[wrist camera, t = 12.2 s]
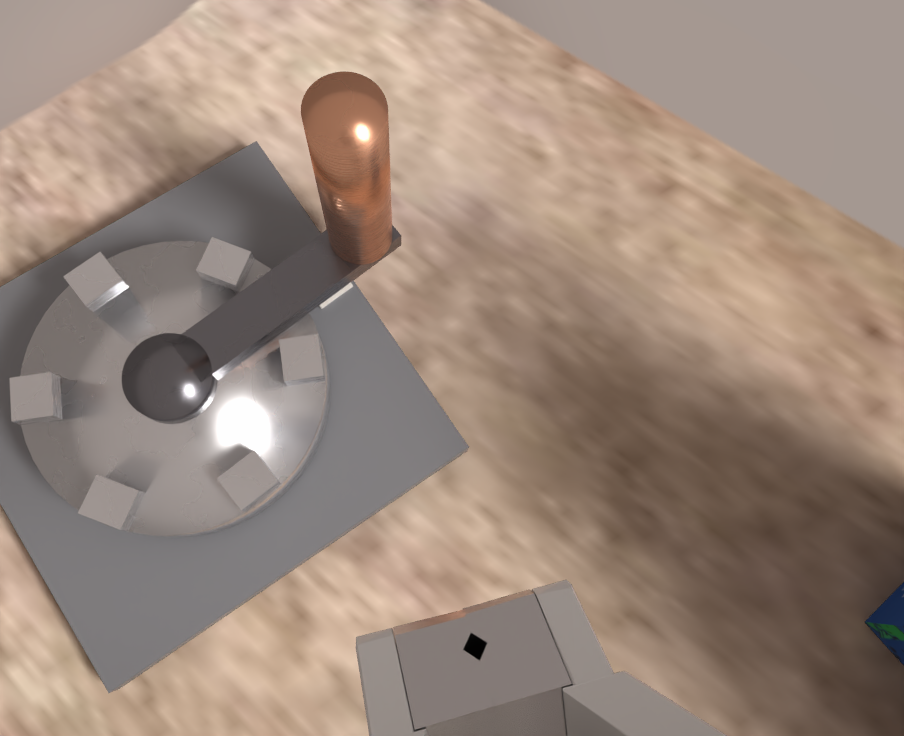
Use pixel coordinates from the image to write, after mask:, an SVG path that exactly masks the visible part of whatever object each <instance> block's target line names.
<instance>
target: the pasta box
mask: <svg viewBox="0 0 904 736" xmlns="http://www.w3.org/2000/svg"><path fill="white" fill-rule="evenodd" d="M865 623H866V624H867V625H868V626H869V628H870V629H871V630H872V631H873V632H874V633H875V634H876V635H877V636H878V638H879V639H880V640H881V641H882V642H883V643H884V644H885V645H886V646H887V648H888V649H889V650H890V651H891V652H892V653H893V654H894V655H895V656H896V658H897V659H898V660H899V661H900V662H901V663H902V664H903V665H904V582H903V583H902V584H901V585H900V586H899V587H898V588H897V589H896V591H895V592H894V593H893V594H892V595H891V596H890V597H889V598H888V599H887V600H886V601H885V602H884V603H883V604H882V605H881V606H880V607H879V608H878V609H877V610H876V611H875V612H874V613H873V614H872V615H871V616H870V617H869V618H868V619H867V620H866V621H865Z"/></svg>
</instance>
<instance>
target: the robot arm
mask: <svg viewBox="0 0 904 736" xmlns="http://www.w3.org/2000/svg"><path fill="white" fill-rule="evenodd" d="M393 629H394V631H393ZM356 652H357V659H358V665H359V671H360V678H361V684H362V691H363V697H364V704H365V710H366V717H367V723H368V729H369V736H727V735H725V734H724V733H722V732H720V731H719V730H717V729H716V728H714V727H712V726H711V725H709V724H708V723H706V722H705V721H703V720H701V719H700V718H698V717H697V716H695V715H694V714H692V713H690V712H689V711H687V710H686V709H684V708H683V707H681V706H679V705H678V704H676V703H675V702H673V701H672V700H670V699H668V698H667V697H665V696H664V695H662V694H661V693H659V692H657V691H656V690H654V689H653V688H651V687H649V686H648V685H646V684H645V683H643V682H642V681H640V680H638V679H637V678H635V677H634V676H632V675H631V674H629V673H627V672H626V671H621V672H617V673H614V672H613V670H612V668H611V666H610V664H609V662H608V660H607V658H606V655H605V653H604V651H603V649H602V647H601V645H600V643H599V641H598V639H597V637H596V635H595V633H594V630H593V628H592V626H591V624H590V622H589V620H588V618H587V616H586V614H585V612H584V610H583V608H582V605H581V603H580V601H579V599H578V597H577V595H576V593H575V591H574V589H573V587H572V585H571V584H570V583H569V582H568V581H567V580H563V581H560V582H556V583H552V584H549V585H545V586H542V587H538V588H534V589H532V591H531V590H530V589H529V590H526V591H522V592H519V593H515V594H512V595H508V596H505V597H501V598H498V599H495V600H491V601H488V602H484V603H481V604H477V605H474V606H470V607H467V608H463V610H460V611H456V612H452V613H448V614H444V615H440V616H436V617H432V618H428V619H424V620H420V621H416V622H412V623H408V624H404V625H400V626H396V627H393V628H390V629H386V630H382V631H378V632H374V633H370V634H366V635H362V636H358V637H356Z"/></svg>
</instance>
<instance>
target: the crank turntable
mask: <svg viewBox="0 0 904 736" xmlns="http://www.w3.org/2000/svg"><path fill="white" fill-rule="evenodd" d="M301 116H302V121H303V125H304V130H305V134H306V139H307V143H308V147H309V152H310V156H311V161H312V165H313V170H314V174H315V179H316V183H317V187H318V192H319V196H320V201H321V205H322V210H323V214H324V219H325V223H326V227H327V230H326V231H324V232H323V233H322V234H320V235H319V236H317V237H316V238H315V239H313V240H312V241H311V242H309V243H308V244H306V245H305V246H304V247H302V248H301V249H299V250H298V251H297V252H295V253H294V254H292V255H291V256H290V257H288V258H287V259H285V260H284V261H283V262H281V263H280V264H278V265H277V266H276V267H274V268H273V269H270V268H269V267H267V266H266V265H264V264H262V263H261V262H259V261H257V260H256V259H254V257H253V254H252V252H251V251H248V250H245V249H243V248H240V247H237V246H235V245H232V244H229V243H227V242H224V241H221V240H219V239H216V238H213V237H212V238H211V240H210V242H209V243H205V242H197V241H169V242H159V243H154V244H149V245H143V246H140V247H137V248H133V249H130V250H127V251H124V252H122V253H119V254H117V255H115V256H113V257H110V258H108V259H107V258H106V257H105V256H104V255H103V254H102V253H101V252H99V253H97V254H96V255H94V256H93V257H91V258H90V259H88V260H87V261H85V262H84V263H82V264H81V265H79V266H78V267H76V268H75V269H73V270H72V271H71V272H69V273H68V274H66V275H65V276H63V277H64V278H65V280H66V281H67V282H68V284H69V286H68V287H67V288H66V289H65V290H64V291H63V292H62V293H61V294H60V295H59V296H58V297H57V299H56V300H55V301H54V302H53V304H52V305H51V306H50V307H49V309H48V310H47V311H46V313H45V314H44V316H43V317H42V319H41V321H40V322H39V324H38V326H37V327H36V329H35V331H34V333H33V336H32V338H31V340H30V342H29V344H28V347H27V350H26V353H25V357H24V360H23V363H22V368H21V374H20V376H19V377H12V378H10V401H11V422H14V423H17V424H19V425H21V427H22V431H23V435H24V438H25V442H26V445H27V447H28V449H29V452H30V454H31V456H32V459H33V461H34V462H35V464H36V466H37V467H38V469H39V471H40V472H41V474H42V475H43V477H44V478H45V479H46V481H47V482H48V483H49V484H50V485H51V487H52V488H53V489H54V490H55V491H56V492H57V493H58V494H59V495H60V496H61V497H62V498H63V499H64V500H66V501H67V502H68V503H69V504H70V505H71V506H73V507H74V508H76V509H77V510H79V512H78V514H81V515H83V516H86V517H89V518H91V519H94V520H96V521H99V522H101V523H103V524H105V525H108V526H111V527H114V528H117V529H119V530H124V531H128V532H134V533H140V534H146V535H152V536H159V537H181V538H182V537H192V536H202V535H206V534H211V533H215V532H219V531H223V530H225V529H228V528H231V527H233V526H236V525H239V524H241V523H243V522H245V521H247V520H249V519H251V518H253V517H254V516H256V515H258V514H259V513H261V512H262V511H264V510H265V509H267V508H268V507H270V506H271V505H272V504H274V503H275V502H276V501H277V500H278V499H279V498H281V497H282V496H283V495H284V494H285V493H286V492H287V491H288V490H289V489H290V488H291V487H292V486H293V484H294V483H295V482H296V481H297V480H298V479H299V478H300V476H301V475H302V474H303V472H304V471H305V469H306V468H307V466H308V465H309V463H310V462H311V460H312V458H313V456H314V454H315V452H316V450H317V448H318V446H319V444H320V441H321V438H322V435H323V433H324V430H325V427H326V422H327V418H328V413H329V408H330V393H331V387H330V372H329V367H328V362H327V357H326V354H325V351H324V348H323V345H322V342H321V339H320V337H319V334H318V331H317V328H316V325H315V323H314V321H313V319H312V317H311V315H310V312H311V311H313V310H314V309H315V308H317V307H318V306H319V305H321V304H322V303H323V302H325V301H326V300H327V299H329V298H330V297H332V296H333V295H334V294H336V293H337V292H338V291H340V290H341V289H342V288H344V287H345V286H346V285H348V284H349V283H350V282H352V281H353V280H355V279H356V278H357V277H359V276H360V275H361V274H363V273H364V272H365V271H367V270H368V269H369V268H371V267H372V266H374V265H375V264H376V263H378V262H379V261H380V260H382V259H383V258H384V257H386V256H387V255H388V254H390V253H391V252H393V251H394V250H395V249H397V248H398V247H399V246H401V235H400V234H399V232H398V231H397V230H396V229H395V228H394V227H393V225H392V212H391V183H390V154H389V125H388V105H387V101H386V98H385V95H384V94H383V92H382V90H381V89H380V88H379V86H378V85H377V84H376V83H374V82H373V81H372V80H371V79H369V78H367V77H365V76H363V75H361V74H357V73H353V72H336V73H331V74H328V75H326V76H323V77H322V78H320V79H318V80H317V81H316V82H314V83H313V84H312V85H311V86H310V87H309V89H308V90H307V92H306V93H305V95H304V98H303V100H302V104H301Z"/></svg>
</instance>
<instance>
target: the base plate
mask: <svg viewBox="0 0 904 736" xmlns="http://www.w3.org/2000/svg"><path fill="white" fill-rule="evenodd" d="M320 234H321V233H320V232H319V230H318V229H317V228H316V226H315V225H314V223H313V222H312V220H311V219H310V217H309V216H308V215H307V213H306V212H305V210H304V209H303V207H302V206H301V205H300V203H299V202H298V200H297V199H296V197H295V196H294V194H293V193H292V192H291V190H290V189H289V187H288V186H287V184H286V183H285V181H284V180H283V179H282V177H281V176H280V174H279V173H278V171H277V170H276V169H275V167H274V166H273V164H272V163H271V161H270V160H269V158H268V157H267V156H266V154H265V153H264V151H263V150H262V148H261V147H260V146H259V144H258V143H257V141H256V142H254V143H252V144H251V145H249V146H247V147H245V148H244V149H242V150H240V151H238V152H236V153H235V154H233V155H231V156H229V157H228V158H226V159H224V160H222V161H221V162H219V163H217V164H215V165H214V166H212V167H210V168H208V169H207V170H205V171H203V172H201V173H200V174H198V175H196V176H194V177H193V178H191V179H189V180H187V181H186V182H184V183H182V184H180V185H178V186H177V187H175V188H173V189H171V190H170V191H168V192H166V193H164V194H163V195H161V196H159V197H157V198H156V199H154V200H152V201H150V202H149V203H147V204H145V205H143V206H142V207H140V208H138V209H136V210H135V211H133V212H131V213H129V214H128V215H126V216H124V217H122V218H120V219H119V220H117V221H115V222H113V223H112V224H110V225H108V226H106V227H105V228H103V229H101V230H99V231H98V232H96V233H94V234H92V235H91V236H89V237H87V238H85V239H84V240H82V241H80V242H78V243H77V244H75V245H73V246H71V247H70V248H68V249H66V250H64V251H63V252H61V253H59V254H57V255H55V256H54V257H52V258H50V259H48V260H47V261H45V262H43V263H41V264H40V265H38V266H36V267H34V268H33V269H31V270H29V271H27V272H26V273H24V274H22V275H20V276H19V277H17V278H15V279H13V280H12V281H10V282H8V283H6V284H5V285H3V286H1V287H0V504H1V506H2V508H3V509H4V511H5V513H6V514H7V516H8V518H9V520H10V521H11V523H12V525H13V527H14V528H15V530H16V532H17V534H18V535H19V537H20V539H21V541H22V542H23V544H24V546H25V548H26V549H27V551H28V553H29V555H30V556H31V558H32V560H33V562H34V563H35V565H36V567H37V569H38V570H39V572H40V574H41V576H42V577H43V579H44V581H45V583H46V584H47V586H48V588H49V590H50V591H51V593H52V595H53V597H54V598H55V600H56V602H57V603H58V605H59V607H60V609H61V610H62V612H63V614H64V616H65V617H66V619H67V621H68V623H69V624H70V626H71V628H72V630H73V631H74V633H75V635H76V637H77V638H78V640H79V642H80V644H81V645H82V647H83V649H84V651H85V652H86V654H87V656H88V658H89V659H90V661H91V663H92V665H93V666H94V668H95V670H96V672H97V673H98V675H99V677H100V679H101V680H102V682H103V684H104V685H105V687H106V689H107V691H108V692H109V693H110V692H112V691H115V690H117V689H120V688H121V687H123V686H124V685H126V684H127V683H129V682H130V681H131V680H133V679H134V678H136V677H137V676H139V675H140V674H142V673H143V672H145V671H146V670H148V669H149V668H150V667H152V666H153V665H155V664H156V663H158V662H159V661H161V660H162V659H164V658H165V657H167V656H168V655H169V654H171V653H172V652H174V651H175V650H177V649H178V648H180V647H181V646H183V645H184V644H186V643H187V642H188V641H190V640H191V639H193V638H194V637H196V636H197V635H199V634H200V633H202V632H203V631H205V630H206V629H207V628H209V627H210V626H212V625H213V624H215V623H216V622H218V621H219V620H221V619H222V618H224V617H225V616H226V615H228V614H229V613H231V612H232V611H234V610H235V609H237V608H238V607H240V606H241V605H243V604H244V603H245V602H247V601H248V600H250V599H251V598H253V597H254V596H256V595H257V594H259V593H260V592H262V591H263V590H264V589H266V588H267V587H269V586H270V585H272V584H273V583H275V582H276V581H278V580H279V579H281V578H282V577H284V576H285V575H286V574H288V573H289V572H291V571H292V570H294V569H295V568H297V567H298V566H300V565H301V564H303V563H304V562H305V561H307V560H308V559H310V558H311V557H313V556H314V555H316V554H317V553H319V552H320V551H322V550H323V549H324V548H326V547H327V546H329V545H330V544H332V543H333V542H335V541H336V540H338V539H339V538H341V537H342V536H343V535H345V534H346V533H348V532H349V531H351V530H352V529H354V528H355V527H357V526H358V525H360V524H361V523H362V522H364V521H365V520H367V519H368V518H370V517H371V516H373V515H374V514H376V513H377V512H379V511H380V510H381V509H383V508H384V507H386V506H387V505H389V504H390V503H392V502H393V501H395V500H396V499H398V498H399V497H400V496H402V495H403V494H405V493H406V492H408V491H409V490H411V489H412V488H414V487H415V486H417V485H418V484H419V483H421V482H422V481H424V480H425V479H427V478H428V477H430V476H431V475H433V474H434V473H436V472H437V471H438V470H440V469H441V468H443V467H444V466H446V465H447V464H449V463H450V462H452V461H453V460H455V459H456V458H457V457H459V456H460V455H462V454H463V453H465V452H466V451H467V450H468V448H469V446H468V445H467V443H466V442H465V440H464V439H463V438H462V436H461V435H460V433H459V432H458V430H457V429H456V428H455V426H454V425H453V423H452V422H451V420H450V419H449V417H448V416H447V415H446V413H445V412H444V410H443V409H442V407H441V406H440V405H439V403H438V402H437V400H436V399H435V397H434V396H433V394H432V393H431V392H430V390H429V389H428V387H427V386H426V384H425V383H424V381H423V380H422V379H421V377H420V376H419V374H418V373H417V371H416V370H415V369H414V367H413V366H412V364H411V363H410V361H409V360H408V358H407V357H406V356H405V354H404V353H403V351H402V350H401V348H400V347H399V346H398V344H397V343H396V341H395V340H394V338H393V337H392V335H391V334H390V333H389V331H388V330H387V328H386V327H385V325H384V324H383V322H382V321H381V320H380V318H379V317H378V315H377V314H376V312H375V311H374V310H373V308H372V307H371V305H370V304H369V302H368V301H367V299H366V298H365V297H364V295H363V294H362V292H361V291H360V289H359V288H358V287H357V285H356V284H355V282H354V281H352V282H350V283H349V284H348V285H346V286H345V287H344V288H342V289H341V290H340V291H338V292H337V293H336V294H334V295H333V296H332V297H330V298H329V299H327V300H326V301H325V302H323V303H322V304H321V305H319V306H318V307H317V308H315V309H314V310H313V311H311V312H310V315H311V317H312V319H313V321H314V323H315V325H316V328H317V331H318V334H319V337H320V339H321V342H322V345H323V348H324V351H325V354H326V357H327V362H328V367H329V372H330V387H331V393H330V408H329V413H328V418H327V422H326V427H325V430H324V433H323V435H322V438H321V441H320V444H319V446H318V448H317V450H316V452H315V454H314V456H313V458H312V460H311V462H310V463H309V465H308V466H307V468H306V469H305V471H304V472H303V474H302V475H301V476H300V478H299V479H298V480H297V481H296V482H295V483H294V484H293V486H292V487H291V488H290V489H289V490H288V491H287V492H286V493H285V494H284V495H283V496H282V497H281V498H279V499H278V500H277V501H276V502H275V503H274V504H272V505H271V506H270V507H268V508H267V509H265V510H264V511H262V512H261V513H259V514H258V515H256V516H254V517H253V518H251V519H249V520H247V521H245V522H243V523H241V524H239V525H236V526H233V527H231V528H228V529H225V530H223V531H219V532H215V533H211V534H206V535H202V536H192V537H182V538H181V537H159V536H152V535H146V534H140V533H134V532H128V531H124V530H119V529H117V528H114V527H111V526H108V525H105V524H103V523H101V522H99V521H96V520H94V519H91V518H89V517H86V516H83V515H81V514H78V512H79V510H77V509H76V508H74V507H73V506H71V505H70V504H69V503H68V502H67V501H66V500H64V499H63V498H62V497H61V496H60V495H59V494H58V493H57V492H56V491H55V490H54V489H53V488H52V487H51V485H50V484H49V483H48V482H47V481H46V479H45V478H44V477H43V475H42V474H41V472H40V471H39V469H38V467H37V466H36V464H35V462H34V461H33V459H32V456H31V454H30V452H29V449H28V447H27V445H26V442H25V438H24V435H23V431H22V427H21V425H19V424H17V423H14V422H11V401H10V378H12V377H19V376H20V374H21V368H22V363H23V360H24V357H25V353H26V350H27V347H28V344H29V342H30V340H31V338H32V336H33V333H34V331H35V329H36V327H37V326H38V324H39V322H40V321H41V319H42V317H43V316H44V314H45V313H46V311H47V310H48V309H49V307H50V306H51V305H52V304H53V302H54V301H55V300H56V299H57V297H58V296H59V295H60V294H61V293H62V292H63V291H64V290H65V289H66V288H67V287H68V286H69V284H68V282H67V281H66V280H65V278H64V277H63V276H65V275H66V274H68V273H69V272H71V271H72V270H73V269H75V268H76V267H78V266H79V265H81V264H82V263H84V262H85V261H87V260H88V259H90V258H91V257H93V256H94V255H96V254H97V253H99V252H101V253H102V254H103V255H104V256H105V257H106V258H107V259H108V258H110V257H113V256H115V255H117V254H119V253H122V252H124V251H127V250H130V249H133V248H137V247H140V246H143V245H149V244H154V243H159V242H169V241H197V242H205V243H209V242H210V240H211V238H212V237H213V238H216V239H219V240H221V241H224V242H227V243H229V244H232V245H235V246H237V247H240V248H243V249H245V250H248V251H251V252H252V254H253V257H254V259H256V260H257V261H259V262H261V263H262V264H264V265H266V266H267V267H269V268H270V269H273V268H274V267H276V266H277V265H278V264H280V263H281V262H283V261H284V260H285V259H287V258H288V257H290V256H291V255H292V254H294V253H295V252H297V251H298V250H299V249H301V248H302V247H304V246H305V245H306V244H308V243H309V242H311V241H312V240H313V239H315V238H316V237H317V236H319V235H320Z"/></svg>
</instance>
